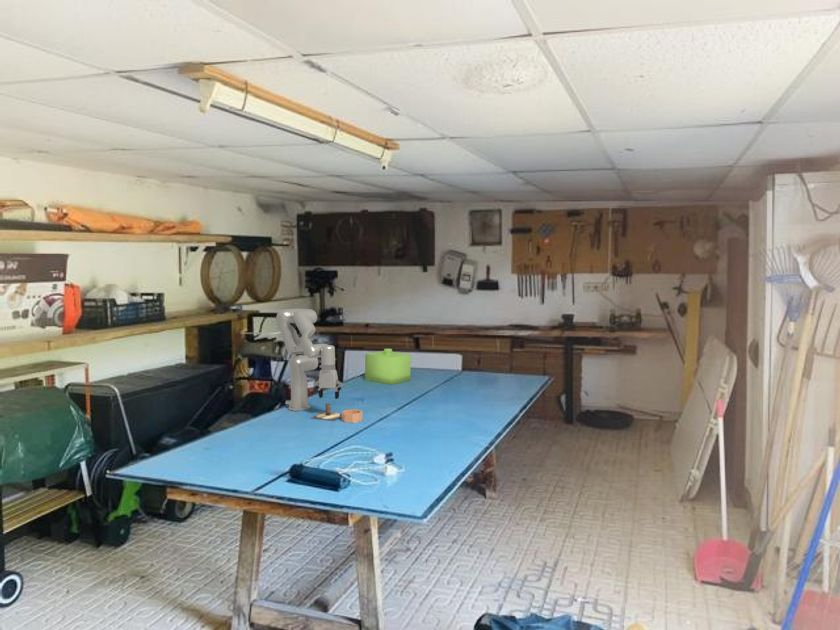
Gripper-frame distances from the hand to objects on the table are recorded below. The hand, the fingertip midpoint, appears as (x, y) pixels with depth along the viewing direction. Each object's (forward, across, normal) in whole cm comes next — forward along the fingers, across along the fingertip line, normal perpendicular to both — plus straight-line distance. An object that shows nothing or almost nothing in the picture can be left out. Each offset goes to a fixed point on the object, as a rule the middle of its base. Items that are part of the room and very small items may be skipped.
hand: (328, 398), depth 365 cm
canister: (+10, -8, +113) cm, 114 cm away
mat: (+11, -1, 0) cm, 11 cm away
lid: (+11, -1, 0) cm, 11 cm away
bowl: (+12, +14, -2) cm, 19 cm away
